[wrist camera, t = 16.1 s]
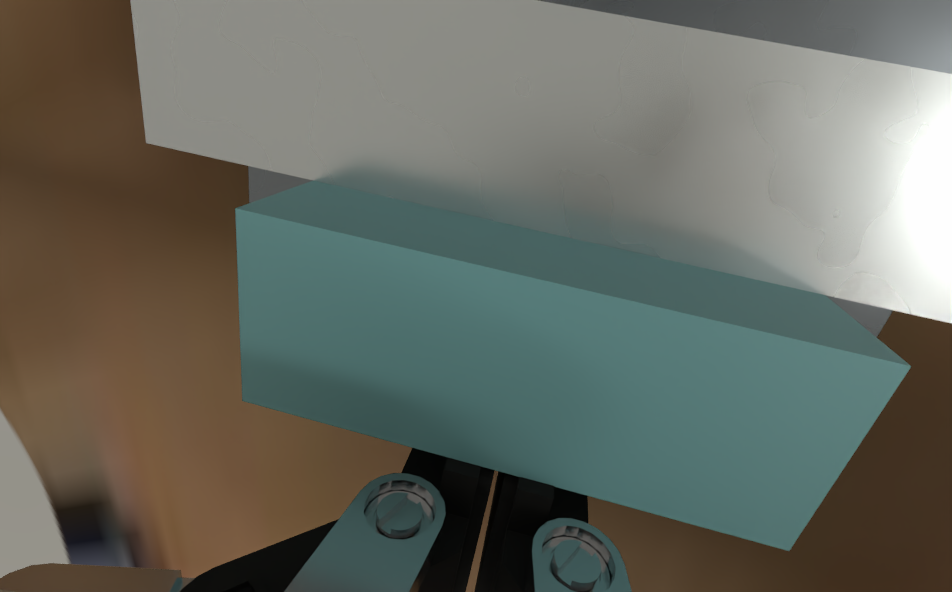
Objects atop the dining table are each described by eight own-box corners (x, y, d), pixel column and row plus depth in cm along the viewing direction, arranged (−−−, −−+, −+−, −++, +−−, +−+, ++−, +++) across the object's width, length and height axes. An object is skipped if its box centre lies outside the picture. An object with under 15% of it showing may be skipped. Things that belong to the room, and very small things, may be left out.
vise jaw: (965, 108, 9) (1536, 138, 4) (817, 371, 12) (1029, 617, 6) (277, -19, 10) (-39, -130, 5) (277, 241, 13) (65, 352, 8)
